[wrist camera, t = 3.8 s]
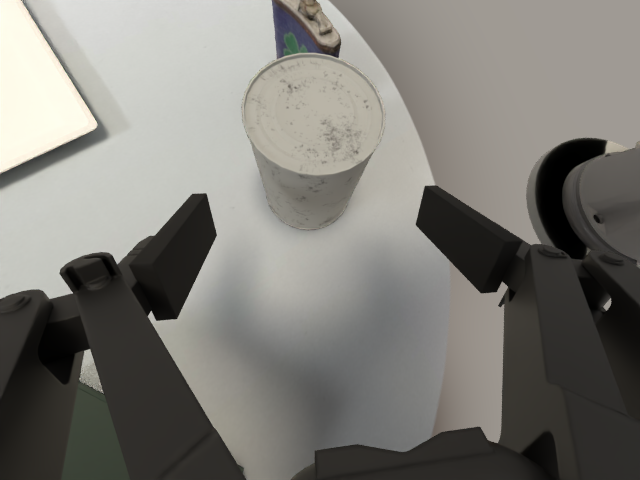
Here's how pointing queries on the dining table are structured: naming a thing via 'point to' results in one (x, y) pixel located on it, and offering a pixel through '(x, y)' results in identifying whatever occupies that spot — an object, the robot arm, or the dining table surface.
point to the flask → (303, 29)
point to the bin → (93, 441)
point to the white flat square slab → (34, 92)
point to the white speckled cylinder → (311, 134)
